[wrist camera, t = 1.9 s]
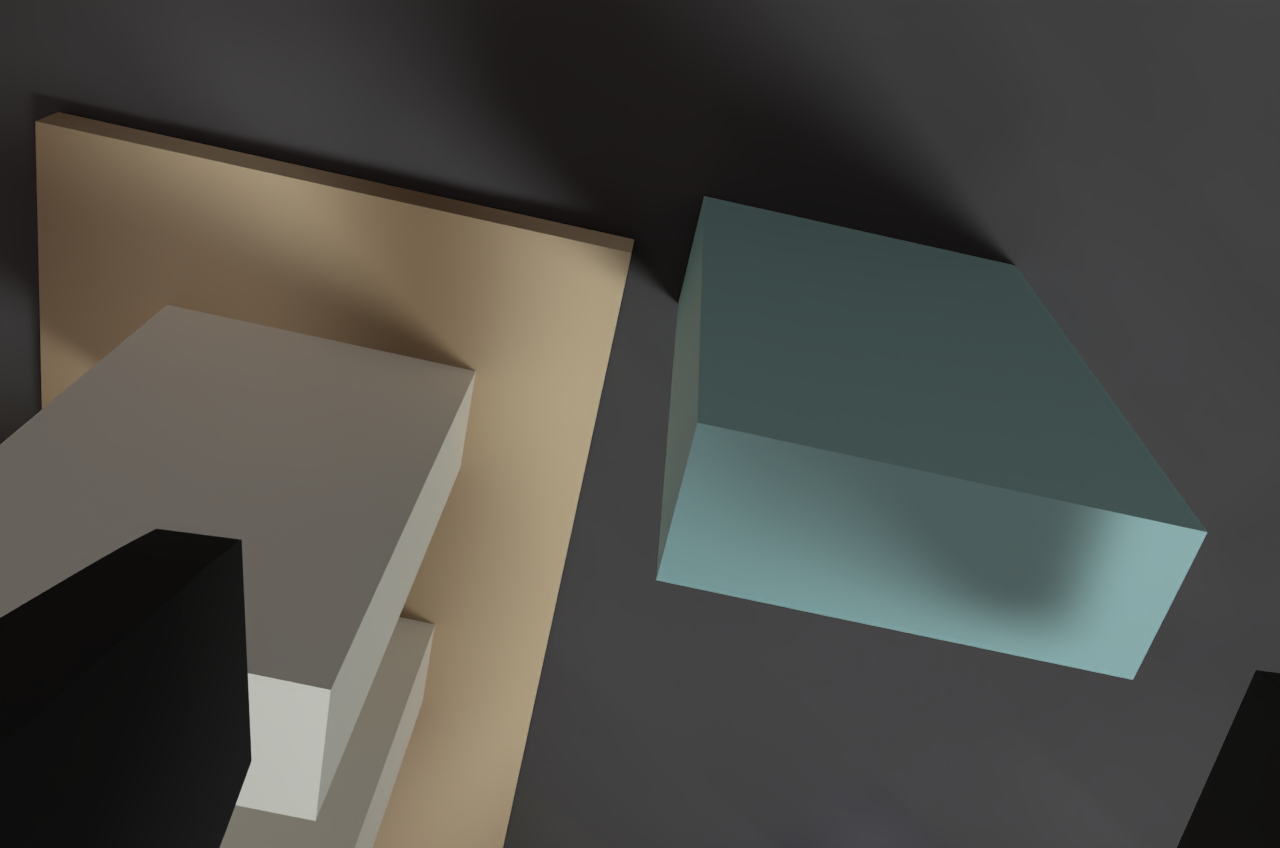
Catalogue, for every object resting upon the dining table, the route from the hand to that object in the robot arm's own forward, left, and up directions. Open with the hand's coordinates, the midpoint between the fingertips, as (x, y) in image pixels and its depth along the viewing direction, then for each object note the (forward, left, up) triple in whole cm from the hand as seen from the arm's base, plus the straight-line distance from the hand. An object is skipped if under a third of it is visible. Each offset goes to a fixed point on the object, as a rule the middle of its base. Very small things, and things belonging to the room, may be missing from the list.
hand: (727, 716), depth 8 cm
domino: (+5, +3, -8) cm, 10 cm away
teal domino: (-2, 0, -9) cm, 9 cm away
